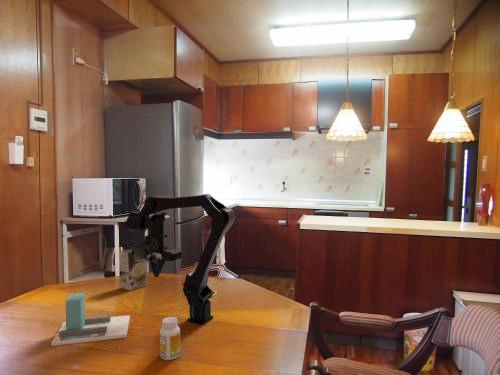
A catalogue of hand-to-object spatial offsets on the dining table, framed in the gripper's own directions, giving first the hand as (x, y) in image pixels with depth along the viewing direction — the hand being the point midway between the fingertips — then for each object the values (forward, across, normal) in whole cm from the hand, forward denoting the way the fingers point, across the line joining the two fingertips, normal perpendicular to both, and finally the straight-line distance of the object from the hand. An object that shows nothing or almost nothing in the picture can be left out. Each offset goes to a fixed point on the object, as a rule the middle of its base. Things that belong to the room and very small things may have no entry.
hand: (156, 276), depth 119 cm
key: (+14, +2, +26) cm, 30 cm away
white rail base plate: (+13, -7, -19) cm, 24 cm away
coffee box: (+13, -29, +16) cm, 36 cm away
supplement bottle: (+13, +23, -18) cm, 32 cm away
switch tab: (+12, -11, -23) cm, 28 cm away
